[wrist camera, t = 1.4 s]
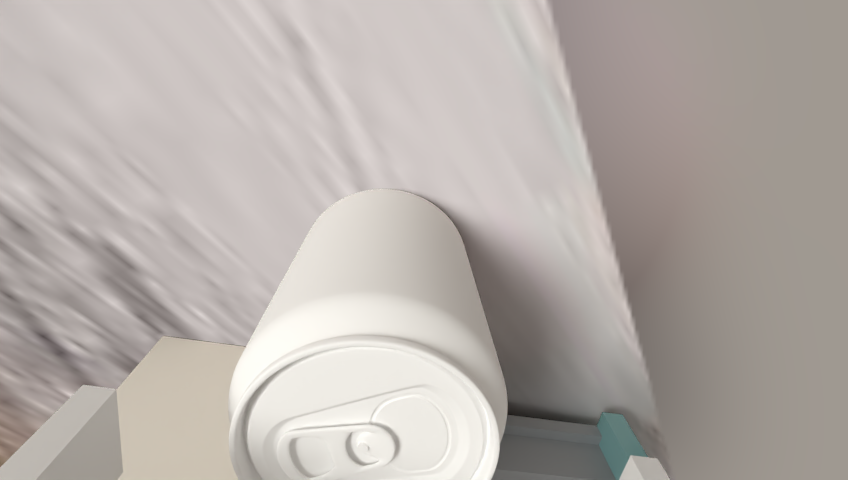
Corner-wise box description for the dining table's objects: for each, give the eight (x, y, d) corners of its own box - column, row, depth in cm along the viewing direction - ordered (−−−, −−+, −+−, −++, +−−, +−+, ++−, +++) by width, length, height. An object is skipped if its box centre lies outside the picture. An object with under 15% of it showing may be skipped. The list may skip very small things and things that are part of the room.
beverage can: (475, 316, 25) (531, 533, 13) (328, 341, 25) (264, 574, 14) (452, 170, 21) (500, 296, 10) (284, 201, 22) (157, 355, 11)
